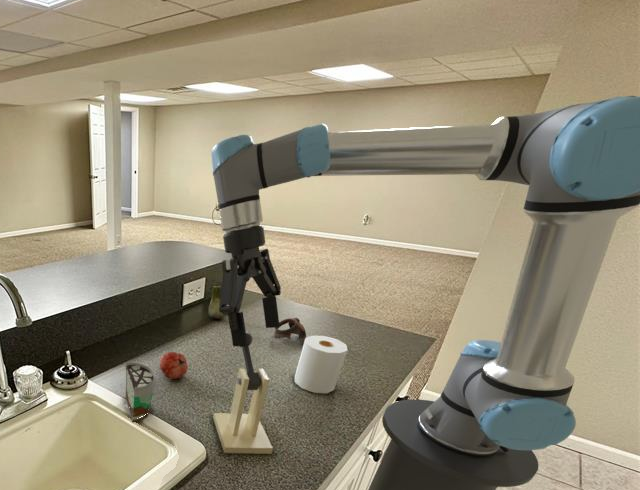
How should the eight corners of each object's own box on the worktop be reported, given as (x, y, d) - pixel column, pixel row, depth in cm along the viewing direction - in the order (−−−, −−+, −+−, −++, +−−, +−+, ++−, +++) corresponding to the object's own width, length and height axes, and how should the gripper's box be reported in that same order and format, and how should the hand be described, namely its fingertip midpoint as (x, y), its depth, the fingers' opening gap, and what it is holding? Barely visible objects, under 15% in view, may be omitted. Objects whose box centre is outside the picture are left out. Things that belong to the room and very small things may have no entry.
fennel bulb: (226, 318, 147) (231, 287, 141) (219, 322, 144) (224, 290, 138) (213, 314, 151) (217, 283, 145) (205, 317, 147) (210, 285, 141)
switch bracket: (213, 418, 94) (223, 358, 86) (255, 419, 94) (269, 360, 86) (224, 452, 84) (236, 389, 76) (271, 453, 84) (289, 390, 76)
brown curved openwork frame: (306, 350, 127) (298, 329, 124) (276, 354, 133) (268, 335, 130) (311, 328, 135) (304, 308, 131) (283, 333, 141) (275, 314, 137)
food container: (159, 424, 91) (163, 387, 86) (133, 426, 90) (135, 389, 85) (148, 394, 102) (151, 360, 97) (124, 396, 101) (125, 361, 96)
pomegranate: (154, 382, 111) (170, 377, 102) (151, 356, 112) (167, 348, 103) (178, 380, 114) (196, 375, 105) (175, 355, 115) (192, 348, 106)
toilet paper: (292, 387, 107) (303, 347, 101) (296, 370, 115) (306, 332, 109) (333, 397, 103) (347, 356, 97) (334, 379, 111) (347, 340, 105)
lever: (232, 338, 91) (236, 327, 88) (248, 338, 91) (252, 328, 88) (242, 391, 83) (247, 381, 80) (259, 391, 83) (265, 382, 80)
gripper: (256, 226, 87) (268, 321, 93) (187, 240, 71) (207, 354, 77) (290, 218, 82) (301, 319, 87) (224, 231, 66) (242, 354, 71)
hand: (257, 336), depth 82 cm, fingers open, 13 cm apart
